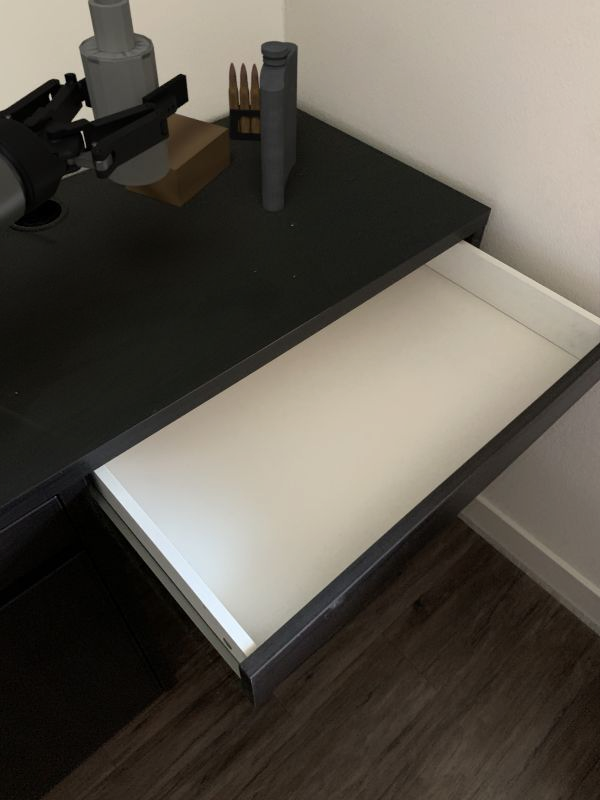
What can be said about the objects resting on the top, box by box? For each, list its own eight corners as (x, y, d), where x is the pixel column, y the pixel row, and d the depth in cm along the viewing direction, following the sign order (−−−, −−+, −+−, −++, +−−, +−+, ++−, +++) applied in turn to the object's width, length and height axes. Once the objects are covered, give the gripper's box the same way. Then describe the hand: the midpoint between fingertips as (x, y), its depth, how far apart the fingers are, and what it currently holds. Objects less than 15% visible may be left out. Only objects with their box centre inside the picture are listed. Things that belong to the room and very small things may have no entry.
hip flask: (282, 212, 97) (282, 71, 82) (254, 210, 97) (250, 69, 82) (297, 157, 107) (299, 23, 92) (272, 155, 107) (270, 21, 92)
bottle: (92, 175, 73) (52, 3, 60) (131, 147, 77) (102, -19, 64) (144, 192, 71) (114, 19, 58) (181, 163, 75) (161, -5, 62)
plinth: (125, 189, 100) (118, 151, 95) (178, 148, 108) (173, 112, 104) (180, 207, 97) (175, 169, 93) (230, 164, 105) (228, 128, 101)
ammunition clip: (229, 139, 111) (225, 64, 102) (230, 133, 112) (226, 59, 103) (293, 142, 111) (294, 67, 101) (293, 136, 112) (295, 62, 103)
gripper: (-71, 185, 63) (88, 92, 76) (96, 248, 57) (235, 136, 71) (-105, 107, 57) (73, 22, 71) (75, 168, 51) (232, 63, 65)
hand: (154, 79), depth 71 cm, fingers closed on bottle, 7 cm apart
